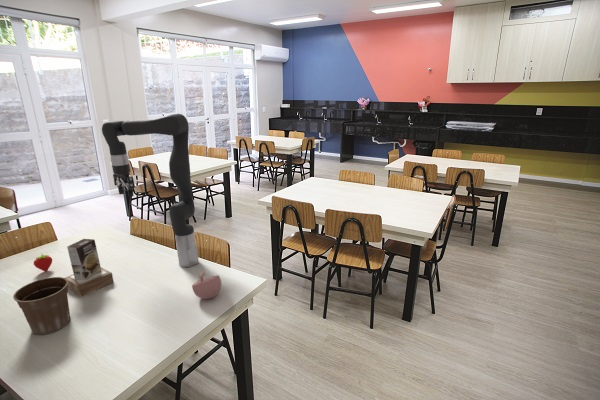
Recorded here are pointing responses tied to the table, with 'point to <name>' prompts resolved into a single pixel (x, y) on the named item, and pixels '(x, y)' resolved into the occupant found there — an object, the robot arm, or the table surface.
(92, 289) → the plinth
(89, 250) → the coffee box
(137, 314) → the table surface
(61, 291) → the plant pot
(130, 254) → the table surface
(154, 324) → the table surface
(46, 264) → the strawberry
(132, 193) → the robot arm
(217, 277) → the pink apple
